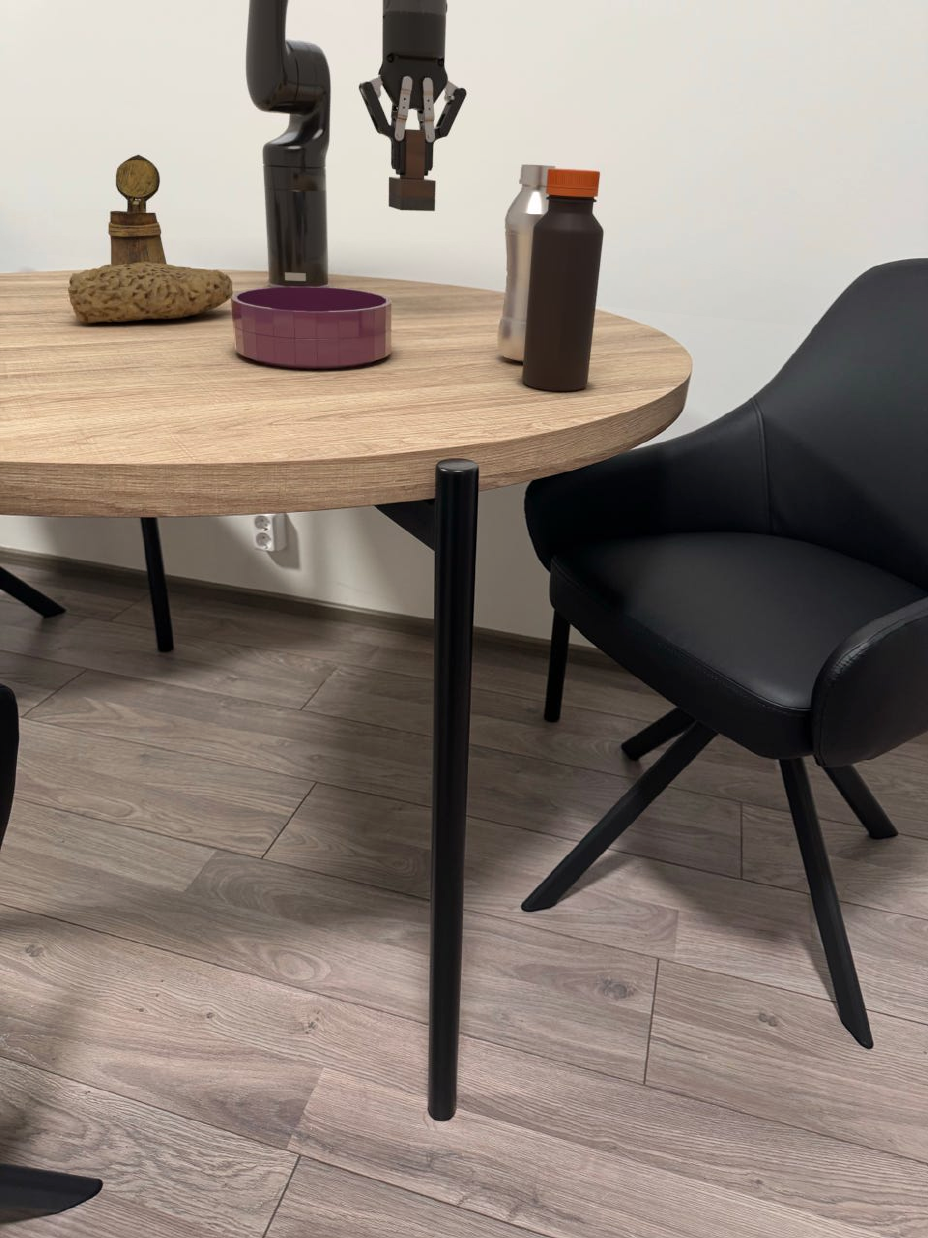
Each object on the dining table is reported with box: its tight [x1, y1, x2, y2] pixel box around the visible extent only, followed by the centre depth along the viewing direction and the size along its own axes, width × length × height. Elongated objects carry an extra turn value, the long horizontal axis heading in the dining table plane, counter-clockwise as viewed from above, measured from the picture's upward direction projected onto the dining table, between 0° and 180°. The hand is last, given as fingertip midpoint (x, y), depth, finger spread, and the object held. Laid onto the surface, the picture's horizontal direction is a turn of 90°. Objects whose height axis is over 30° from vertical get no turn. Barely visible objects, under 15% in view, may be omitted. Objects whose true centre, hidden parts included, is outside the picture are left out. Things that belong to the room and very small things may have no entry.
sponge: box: [67, 262, 234, 324], centre depth 115 cm, size 13×8×20 cm
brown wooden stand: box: [107, 154, 168, 266], centre depth 128 cm, size 9×14×18 cm, turn 8°
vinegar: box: [521, 168, 605, 392], centre depth 90 cm, size 7×7×20 cm
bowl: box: [230, 286, 393, 370], centre depth 101 cm, size 17×17×6 cm
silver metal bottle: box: [496, 164, 556, 363], centre depth 99 cm, size 6×7×20 cm
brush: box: [388, 128, 437, 212], centre depth 115 cm, size 6×4×9 cm
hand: (411, 174), depth 115 cm, fingers closed on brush, 2 cm apart
